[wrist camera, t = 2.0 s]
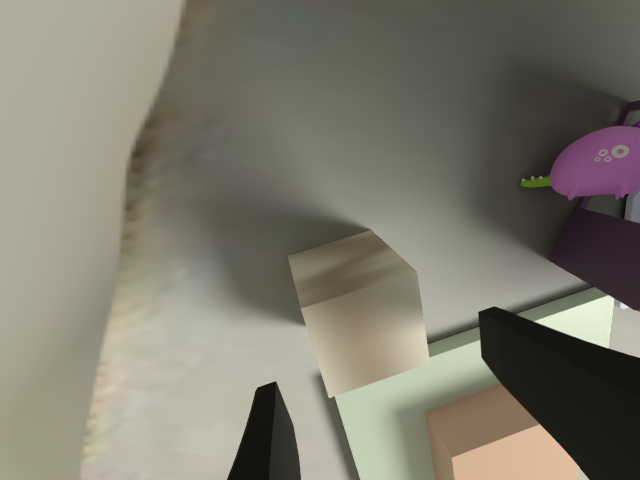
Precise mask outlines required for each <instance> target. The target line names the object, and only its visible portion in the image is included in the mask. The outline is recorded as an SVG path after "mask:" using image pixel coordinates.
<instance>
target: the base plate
mask: <svg viewBox="0 0 640 480" xmlns="http://www.w3.org/2000/svg"><path fill="white" fill-rule="evenodd" d="M613 306H614V298H613V297H611V296H609V295H607V294H606V293H604V292H602V291H601V290H599V289H597V288H595V287H593V288H590V289H587V290H584V291H581V292H578V293H575V294H573V295H570V296H567V297H564V298H561V299H558V300H555V301H552V302H549V303H546V304H543V305H541V306H538V307H535V308H532V309H529V310H526V311H523V312H520V313H517V314H516V315H519V316H521V317H524V318H526V319H529V320H531V321H534V322H536V323H539V324H542V325H544V326H547V327H549V328H552V329H555V330H557V331H560V332H563V333H565V334H568V335H571V336H573V337H576V338H579V339H582V340H585V341H587V342H590V343H593V344H596V345H599V346H602V347H605V348H608V347H609V339H610V331H611V323H612V315H613ZM427 345H428V352H429V359H430V363H429V364H426V365H423V366H420V367H417V368H414V369H412V370H409V371H406V372H403V373H400V374H397V375H394V376H392V377H389V378H386V379H383V380H380V381H377V382H374V383H372V384H369V385H366V386H363V387H360V388H357V389H354V390H352V391H349V392H346V393H343V394H340V395H337V396H335V399H336V403H337V406H338V409H339V412H340V416H341V419H342V422H343V425H344V429H345V432H346V435H347V438H348V442H349V445H350V448H351V451H352V455H353V458H354V461H355V464H356V468H357V471H358V474H359V478H360V480H436V477H435V471H434V465H433V459H432V453H431V447H430V442H429V436H428V430H427V424H426V418H425V412H424V411H427V410H430V409H432V408H435V407H438V406H441V405H443V404H446V403H449V402H452V401H454V400H457V399H460V398H463V397H465V396H468V395H471V394H474V393H476V392H479V391H482V390H485V389H487V388H490V387H493V386H496V385H498V384H501V383H500V381H499V380H498V379H497V378H496V376H495V375H494V374H493V373H492V371H491V370H490V369H489V367H488V366H487V364H486V363H485V362H484V360H483V359H482V358H481V344H480V329H479V327H476V328H474V329H471V330H468V331H465V332H462V333H459V334H456V335H453V336H450V337H447V338H444V339H442V340H439V341H436V342H433V343H430V344H427ZM579 469H580V467H579Z"/></svg>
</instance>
